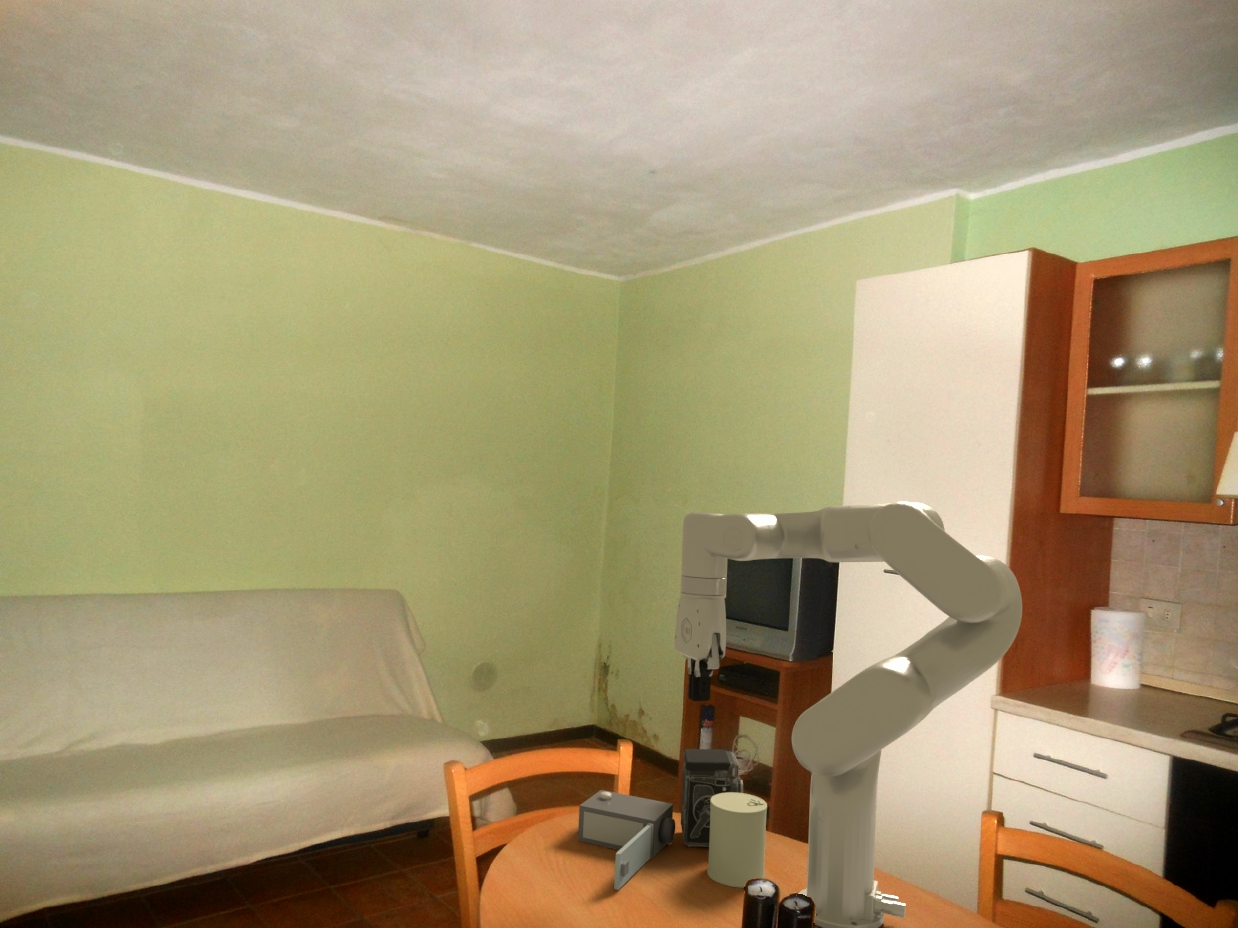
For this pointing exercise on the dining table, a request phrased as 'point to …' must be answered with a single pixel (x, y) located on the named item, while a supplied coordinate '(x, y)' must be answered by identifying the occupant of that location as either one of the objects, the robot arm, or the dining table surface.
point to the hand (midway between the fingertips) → (699, 699)
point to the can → (736, 838)
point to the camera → (705, 789)
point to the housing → (624, 820)
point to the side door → (633, 855)
